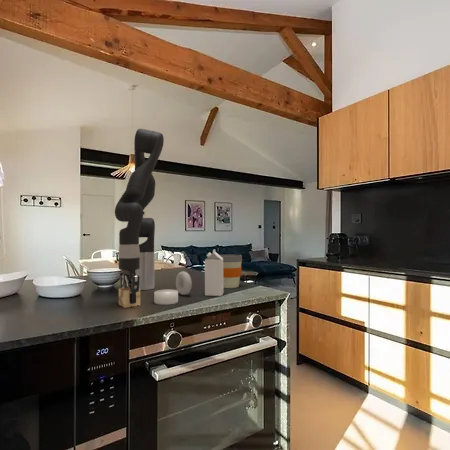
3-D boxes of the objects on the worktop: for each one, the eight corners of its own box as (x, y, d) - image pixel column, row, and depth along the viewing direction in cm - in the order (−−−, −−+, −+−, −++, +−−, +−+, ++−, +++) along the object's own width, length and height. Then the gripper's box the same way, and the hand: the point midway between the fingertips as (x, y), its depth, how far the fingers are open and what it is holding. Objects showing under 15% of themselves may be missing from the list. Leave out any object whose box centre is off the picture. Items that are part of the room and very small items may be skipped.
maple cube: (118, 304, 126) (118, 288, 126) (134, 302, 130) (134, 286, 130) (124, 307, 122) (124, 290, 122) (140, 305, 125) (140, 289, 125)
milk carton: (223, 292, 148) (223, 249, 148) (221, 296, 141) (221, 250, 141) (207, 292, 148) (207, 249, 149) (204, 296, 141) (204, 250, 142)
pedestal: (150, 301, 131) (150, 291, 131) (171, 298, 136) (171, 288, 136) (160, 305, 124) (160, 294, 124) (182, 302, 129) (182, 291, 129)
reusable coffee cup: (214, 288, 159) (214, 256, 159) (219, 284, 171) (218, 254, 172) (240, 289, 157) (240, 256, 157) (243, 284, 169) (243, 254, 170)
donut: (193, 296, 141) (193, 272, 141) (186, 297, 139) (186, 272, 139) (181, 292, 149) (180, 269, 149) (174, 293, 147) (173, 270, 147)
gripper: (146, 257, 122) (146, 304, 122) (131, 254, 134) (132, 297, 134) (126, 258, 118) (126, 307, 118) (112, 255, 130) (113, 300, 129)
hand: (129, 301), depth 126 cm, fingers closed on maple cube, 6 cm apart
